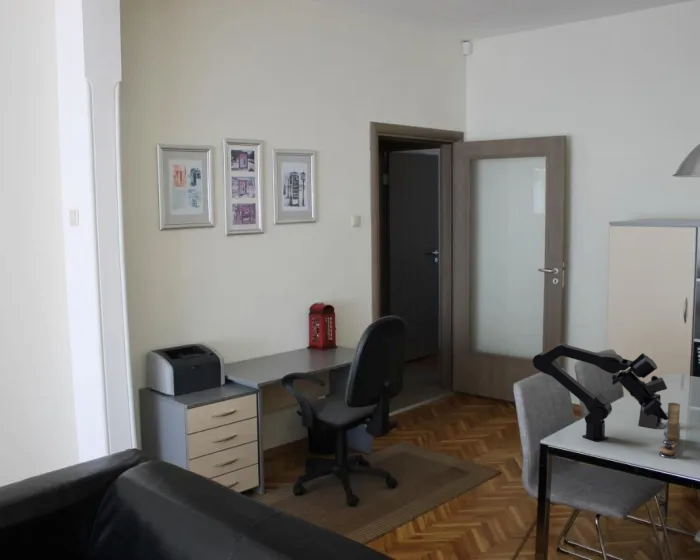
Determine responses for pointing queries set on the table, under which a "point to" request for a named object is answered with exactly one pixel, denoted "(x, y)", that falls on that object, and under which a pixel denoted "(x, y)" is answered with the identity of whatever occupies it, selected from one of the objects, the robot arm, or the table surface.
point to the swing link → (672, 428)
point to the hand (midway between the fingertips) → (667, 419)
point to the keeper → (666, 431)
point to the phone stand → (649, 418)
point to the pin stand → (668, 445)
